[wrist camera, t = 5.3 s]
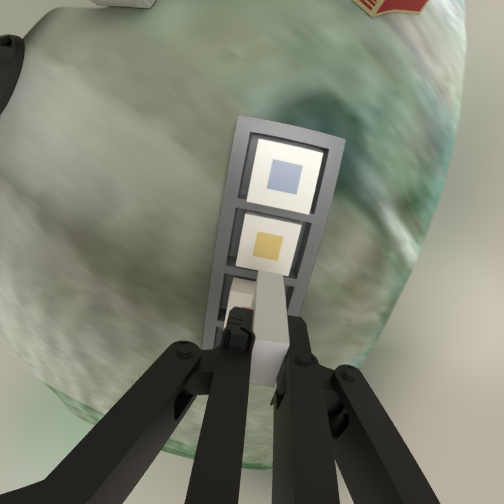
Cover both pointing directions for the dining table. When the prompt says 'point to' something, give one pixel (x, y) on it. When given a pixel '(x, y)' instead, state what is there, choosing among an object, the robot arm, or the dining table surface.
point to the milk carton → (391, 6)
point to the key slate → (284, 176)
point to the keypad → (236, 208)
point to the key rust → (240, 295)
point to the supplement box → (125, 3)
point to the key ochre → (268, 242)
